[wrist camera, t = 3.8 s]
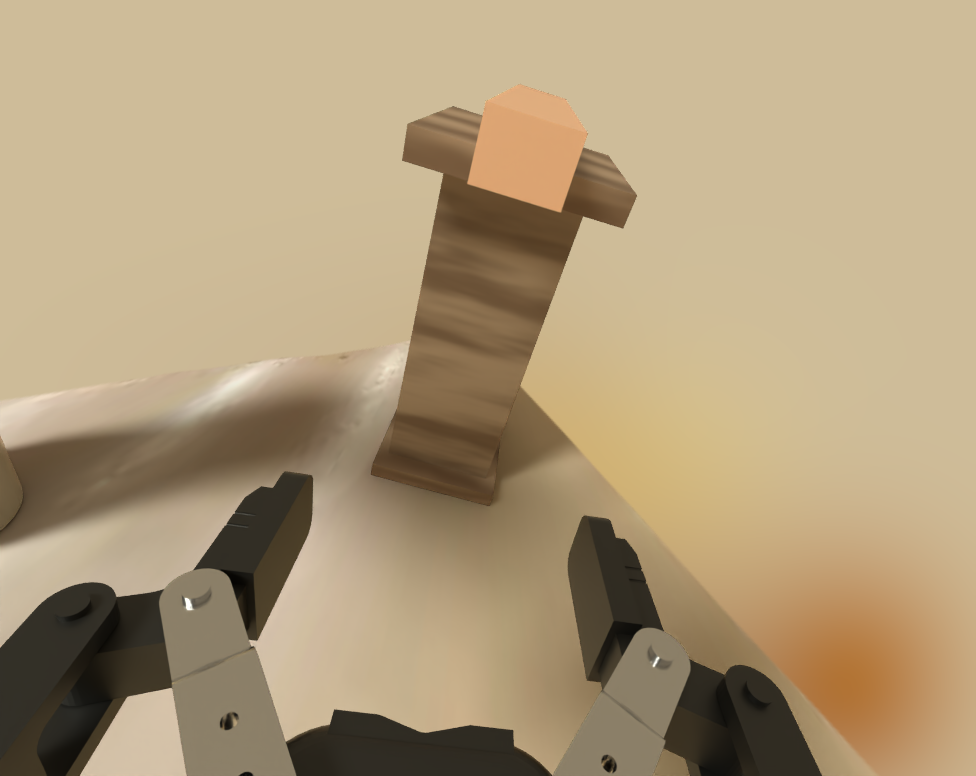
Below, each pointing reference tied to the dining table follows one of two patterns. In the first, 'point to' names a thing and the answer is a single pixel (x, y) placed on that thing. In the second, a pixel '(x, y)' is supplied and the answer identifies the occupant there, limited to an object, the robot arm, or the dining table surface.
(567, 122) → the block
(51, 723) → the robot arm
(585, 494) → the dining table surface
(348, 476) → the dining table surface
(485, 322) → the stand
